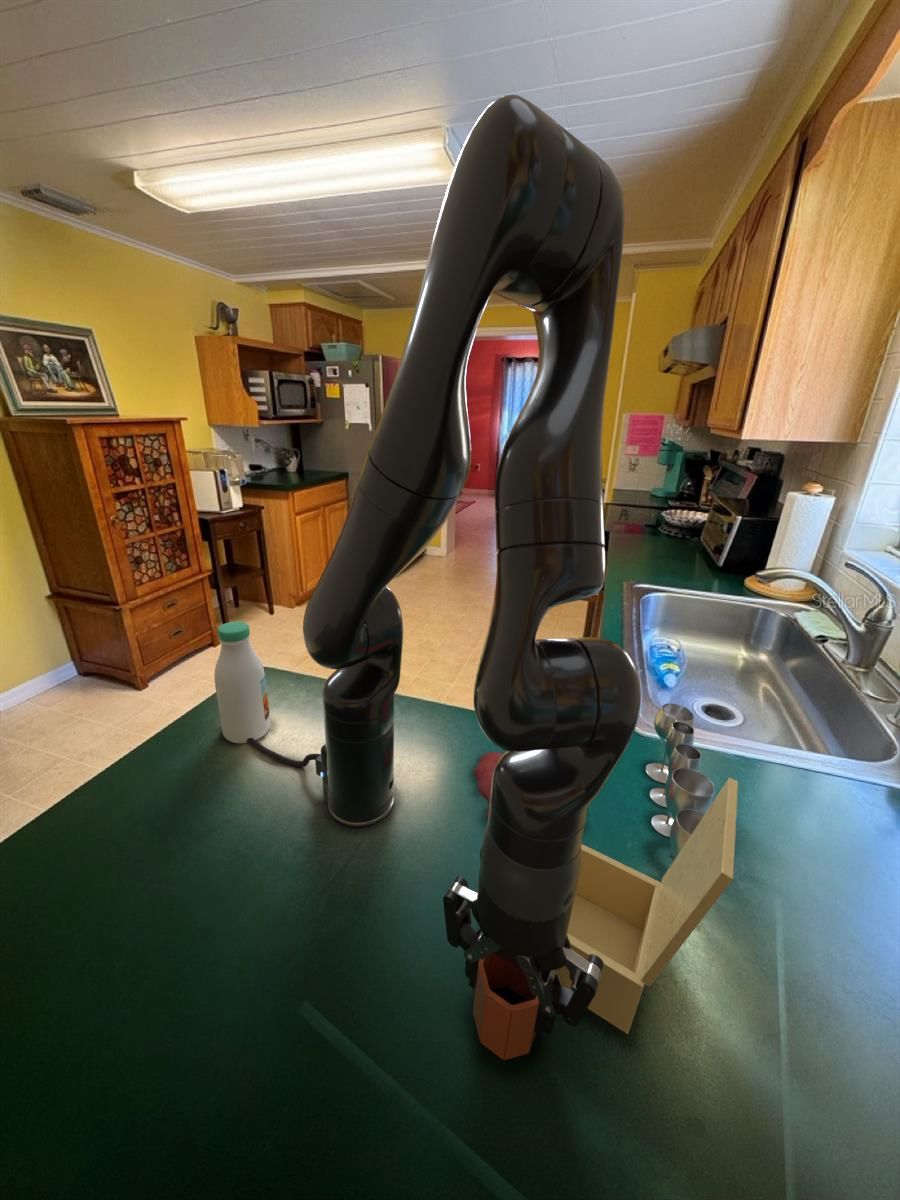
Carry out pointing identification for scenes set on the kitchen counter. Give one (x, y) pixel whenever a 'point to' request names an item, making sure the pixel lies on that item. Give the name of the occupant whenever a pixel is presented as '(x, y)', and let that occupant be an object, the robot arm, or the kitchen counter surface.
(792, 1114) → the kitchen counter surface
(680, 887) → the wooden box lid
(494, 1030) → the cup
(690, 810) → the goblet set
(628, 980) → the wooden box base
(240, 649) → the milk bottle
